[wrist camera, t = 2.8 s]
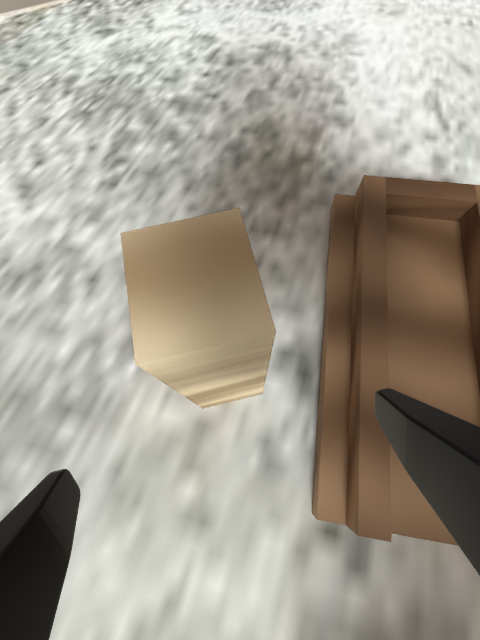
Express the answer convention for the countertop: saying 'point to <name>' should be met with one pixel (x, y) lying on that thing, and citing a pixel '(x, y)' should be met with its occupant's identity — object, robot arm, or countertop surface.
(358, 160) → the countertop surface
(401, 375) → the groove sill
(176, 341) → the tan wooden block
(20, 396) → the countertop surface
